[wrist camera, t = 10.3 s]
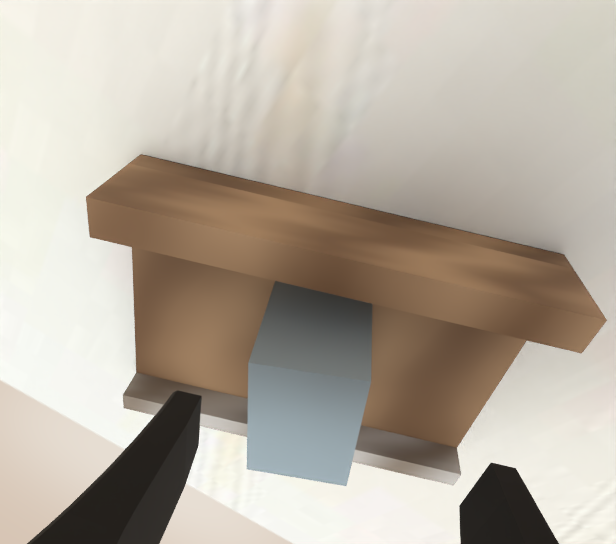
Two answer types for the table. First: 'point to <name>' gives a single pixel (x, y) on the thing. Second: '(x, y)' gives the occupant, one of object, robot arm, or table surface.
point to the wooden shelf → (338, 281)
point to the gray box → (308, 384)
